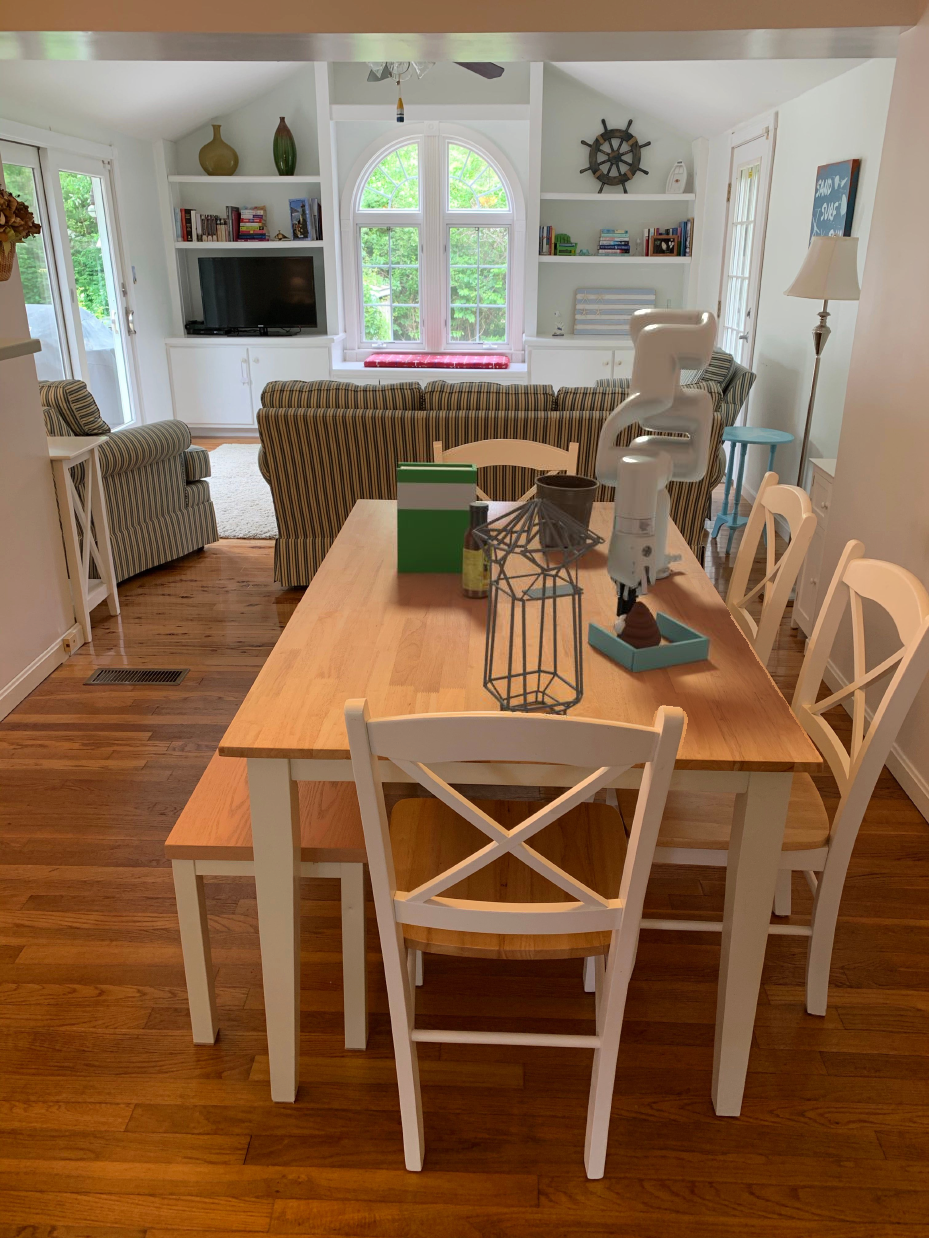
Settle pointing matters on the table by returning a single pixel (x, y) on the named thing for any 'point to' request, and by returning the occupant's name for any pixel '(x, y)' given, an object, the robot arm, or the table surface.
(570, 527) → the geometric lantern
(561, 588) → the mat
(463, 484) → the hardback book
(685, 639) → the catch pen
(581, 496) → the plant pot
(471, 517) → the sauce bottle
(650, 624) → the poop emoji
